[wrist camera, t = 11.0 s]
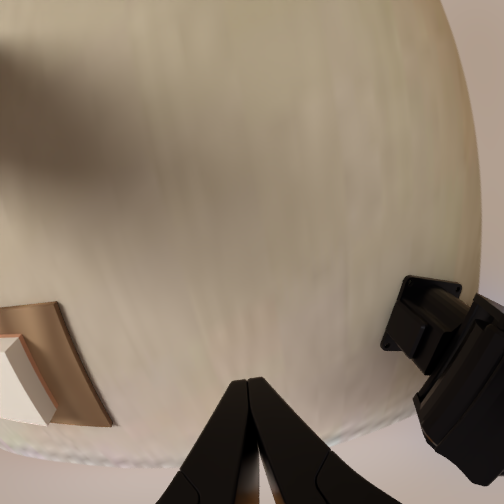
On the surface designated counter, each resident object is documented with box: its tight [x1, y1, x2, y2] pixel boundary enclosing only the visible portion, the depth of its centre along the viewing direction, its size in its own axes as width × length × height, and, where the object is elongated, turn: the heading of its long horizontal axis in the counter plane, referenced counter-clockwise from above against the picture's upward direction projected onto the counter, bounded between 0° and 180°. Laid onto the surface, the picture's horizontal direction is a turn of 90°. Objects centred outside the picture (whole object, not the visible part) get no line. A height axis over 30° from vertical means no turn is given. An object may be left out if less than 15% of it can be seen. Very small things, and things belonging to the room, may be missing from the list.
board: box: [0, 301, 113, 427], centre depth 22 cm, size 15×13×1 cm
